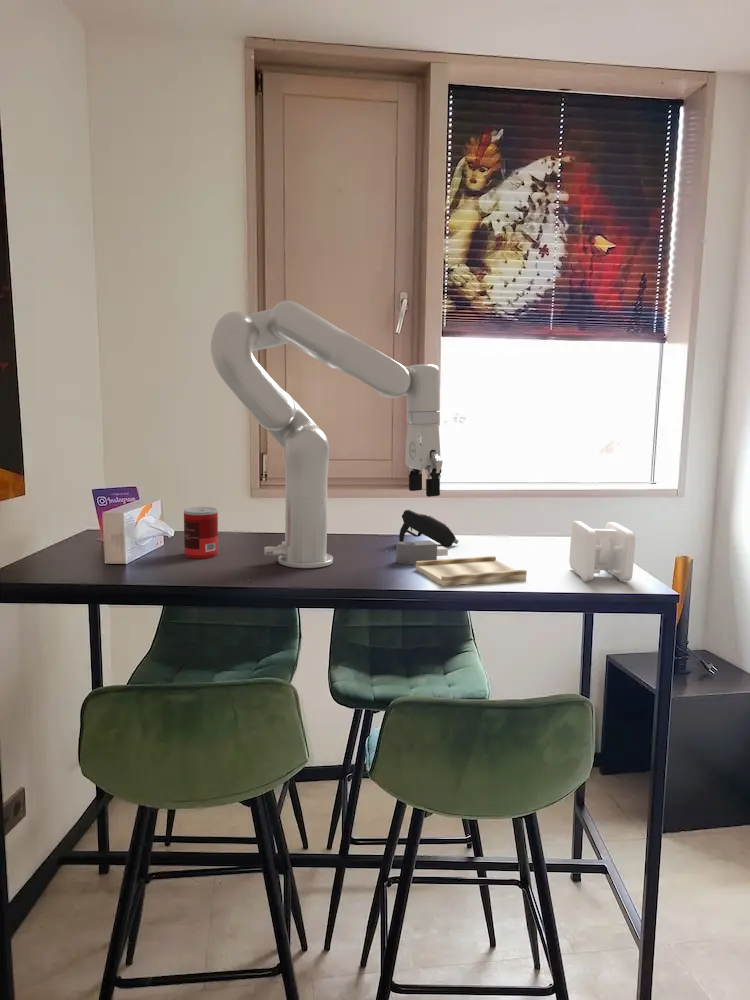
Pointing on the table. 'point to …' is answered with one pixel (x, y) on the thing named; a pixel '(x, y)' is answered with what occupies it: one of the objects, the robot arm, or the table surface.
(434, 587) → the table surface
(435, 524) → the gun
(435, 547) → the connector
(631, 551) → the cable organizer
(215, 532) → the canned food
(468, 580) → the board
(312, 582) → the table surface
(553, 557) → the table surface
